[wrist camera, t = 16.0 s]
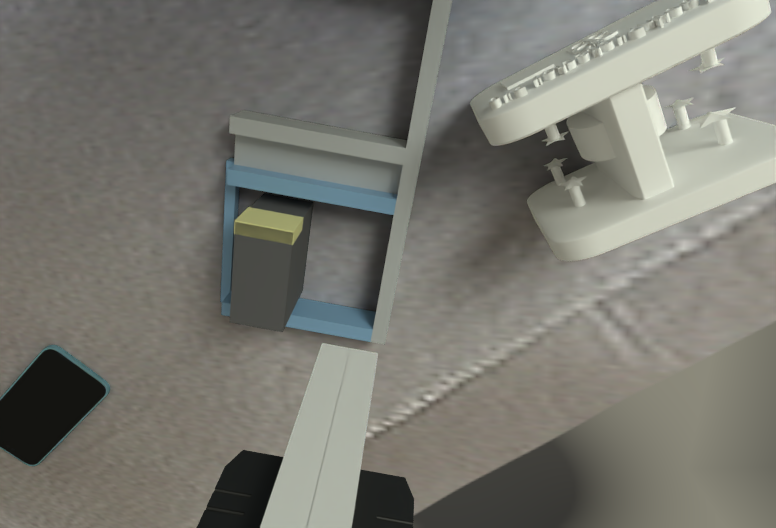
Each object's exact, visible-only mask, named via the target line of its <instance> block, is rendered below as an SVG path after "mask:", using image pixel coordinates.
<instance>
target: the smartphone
mask: <svg viewBox="0 0 776 528" xmlns="http://www.w3.org/2000/svg"><path fill="white" fill-rule="evenodd" d="M109 391H110V386H109V384H108V383H107V382H106V381H105V380H104V379H103V378H101V377H100V376H99V375H97V374H96V373H95V372H93V371H92V370H91V369H89V368H88V367H87V366H85V365H84V364H83V363H81V362H80V361H79V360H77V359H76V358H74V357H73V356H72V355H70V354H69V353H68V352H66V351H65V350H64V349H62V348H61V347H59V346H57V345H49V346H47V347H46V348H44V349H43V350H42V351H41V352H40V353H39V354H38V356H37V357H36V358H35V359H34V360H33V361H32V362H31V364H30V365H29V366H28V367H27V368H26V369H25V370H24V372H23V373H22V374H21V375H20V376H19V377H18V378H17V380H16V381H15V382H14V383H13V384H12V385H11V386H10V388H9V389H8V390H7V391H6V392H5V393H4V394H3V395H2V396H1V398H0V448H1V449H3V450H4V451H6V452H7V453H9V454H11V455H12V456H14V457H15V458H17V459H18V460H20V461H21V462H23V463H24V464H26V465H29V466H36V465H38V464H40V463H41V462H42V461H43V460H44V459H45V458H46V457H47V456H48V455H49V454H50V453H51V452H52V451H53V450H54V449H55V448H56V447H57V446H58V445H59V444H60V443H61V442H62V441H63V440H64V439H65V438H66V437H67V435H68V434H69V433H70V432H71V431H72V430H73V429H74V428H75V427H76V426H77V425H78V424H79V423H80V422H81V421H82V420H83V419H84V418H85V417H86V416H87V415H88V414H89V413H90V412H91V411H92V410H93V409H94V408H95V407H96V406H97V405H98V404H99V403H100V402H101V401H102V400H103V399H104V398H105V397H106V396H107V394H108V393H109Z"/></svg>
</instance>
